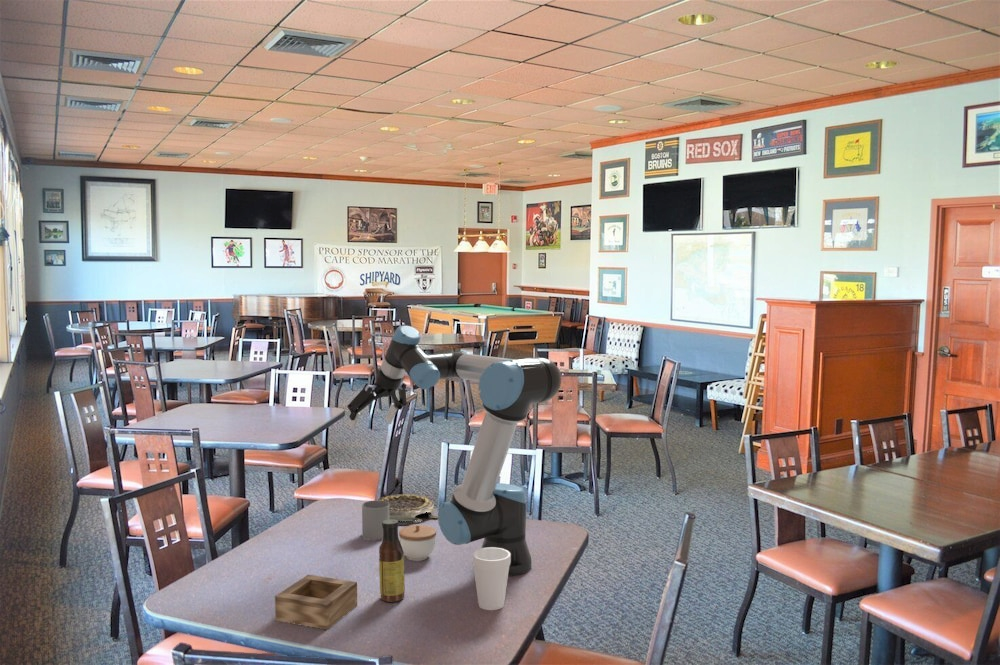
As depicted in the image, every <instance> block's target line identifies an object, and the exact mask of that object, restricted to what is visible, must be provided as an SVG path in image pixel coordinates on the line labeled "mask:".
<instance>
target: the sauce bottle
mask: <svg viewBox="0 0 1000 665" xmlns="http://www.w3.org/2000/svg"><path fill="white" fill-rule="evenodd" d="M399 526H400V525H399V522H398V521H397V520H395V519H389V520H384V521H383V522H382V527H383V539H382V542H381V544H380V545H379V547H378V548H379V549H378V552H379V553H378V554H379V557H378V558H379V559H378V570H379V571H378V572H379V593H380V599H381V600H382V601H383V602H386V603H396V602H399V601H401V600H403V599H404V598H405V593H406V588H405V587H406V586H405V585H406V584H405V556H404V552H403V549H402V546H401V543H400V540H399Z"/></svg>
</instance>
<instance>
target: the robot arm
mask: <svg viewBox="0 0 1000 665" xmlns="http://www.w3.org/2000/svg"><path fill="white" fill-rule="evenodd" d="M395 329H396V330H395V331H394V333H393V335H392V336H391V340H390V343H389V345H388V348H387V350H386V353H385V355H384V357H383V360H382V362H381V365H380V367H379V369H378V372H377V374H376V378H375V383H373V385H372V384H369V382H367V383H365V384H364V387H362V390H361V391H360V392H359V393H358V394H357V395H356V396H355V397H354V398H353V399H352V400H351V401H350V402H349V403H348V405H346V407H347V408H348V410H349V411H350V414H349V420H348V422H347V424H348V426H349V428H350V429H351V430H352V431H353V430H355V428H356V425H357V422H358V420H359V418H360V416H361V411H363V410H364V409H365V408H366V407H368V406H369V405H370V404H371V403H372V402H374V401H377V400H378V399H381V398H388V397H389V396H390V398H391V399H392V401H393V402H392V403H390V406H389V409H388V410H387V412H386V415H385V418H384V420H385V421H386V422H387V423H388V425H391V424H392V422H393V421H394V418H395V416H396V415H397V414H398V411H399V410H403V407H405V406H406V405H407V394H406V393H407V392H406V388H407V384H406V382H405V381H404V380H403V379H404V377H405V375H406V374H407V375H408V377H409V378H410V380H411V381H412V382H413V383H414V384H415V385H416V387H418V388H419V389H421V390H427V389H430V388H431V387H435V385H436V384H438V382H439V380H444V379H460V380H461V379H462V380H466V381H467V380H468V381H473V382H478V390H479V391H480V392H479V393H478V394H479V397H480V400H481V402H482V403H481V404H482V405H481V406H482V408H483V409H484V411H485V413H484V415H483V419H482V422H481V425H480V428H479V431H478V434H477V437H476V441H475V444H474V446H473V450H472V453H471V456H470V459H469V462H468V465H467V469H466V472H465V475H464V477H463V481H462V483H461V484H458V485H457V486H456V487H455V488H454V490H453V493H452V496H451V499H450V500H449V501H447V500H446V501H444V502H443V503H441V504H440V506H439V507H438V509H437V516H438V518H437V521H438V526H439V528H440V531H441V533H442V535H443V536H444V538H445V540H447V541H448V542H449V543H451V544H453V545H455V546H459V545H460V546H461V545H465V544H466V545H467V544H470V543H473V542H476V541H479V540H482V539H483V541H482V545H481V548H486V547H496V548H502V549H505V550H508V551H509V552H510V553H511V563H510V566H509V572H508V577H512V576H518V575H520V576H521V575H523V574H525V573H527V572H529V571H530V570H531V569H532V556H531V553H530V550H529V547H528V543H527V538H526V530H527V528H526V527H527V524H526V522H527V503H528V502H527V500H526V498H527V497H526V496H527V495H526V490H525V489H524V488H522V487H521V486H518V485H514V484H510V483H502V482H498V481H499V478H500V475H501V472H502V470H503V467H504V463H505V460H506V458H507V455H508V452H509V449H510V448H511V447H510V446H511V443H512V440H513V438H514V436H515V435H514V434H515V433H516V432H515V431H516V429H517V426H518V423H520V422H523V421H525V420H526V418H527V415H528V413H529V410H530V407H531V405H535V404H541V403H546V402H548V401H550V400H552V399H553V398H555V396H556V395H557V394H558V392H559V390H560V388H561V384H562V373H561V371H560V368H559V367H558V365H557V364H555V362H554V361H552V360H551V359H548V358H546V357H525V358H521V359H513V358H507V357H505V358H504V357H499V356H498V357H496V356H488V355H481V354H474V353H471V352H469V351H463V350H459V351H451V352H441V353H428V354H427V353H425V351H424V350H423V349H422V348H421V347H420V345H419V344H420V340H421V333H420V332H419V330H418V329H416V328H415V327H413V326H410V325H400V326H398V327H397V328H395ZM397 390H398V397H397V395H396V393H395V391H397ZM398 398H399V399H398ZM481 548H480V549H481Z"/></svg>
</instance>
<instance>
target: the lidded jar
mask: <svg viewBox="0 0 1000 665" xmlns="http://www.w3.org/2000/svg"><path fill="white" fill-rule="evenodd" d="M436 537H437V530H436V528H434V527H432V526H429V525H425V524H415V525H406V526H405V527H402V528H400V530H398V538H399V541H400V543H401V546H402V549H403V552H404V555H405V556H404V557H406V559H407V560H409V561H413V562H415V561H416V562H418V561H419V562H420V560H421V561H425V560H427V559H428V558H429V556H430V555H431V554H432V553H433V552H434V549H435V547H436V539H437V538H436Z"/></svg>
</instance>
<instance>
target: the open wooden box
mask: <svg viewBox="0 0 1000 665" xmlns="http://www.w3.org/2000/svg"><path fill="white" fill-rule="evenodd" d="M355 606H356V607H357V606H358V582H357V581H352V580H344V579H340V578H333V577H332V578H331V577H327V576H320V575H313V574H307V575H306V576H304V577H302V578H301V579H299V580H298V581H296V582H294V583H293V584H292V585H290V586H288V587H287V588H285V589H283V590H282V591H281V592H279V593H278V594H276V595H275V596H274V612H275V613H274V615H275V618H274V619H275V620H276V621H275V622H279V621H283V622H282V623H285V622H289V623H288V624H290V623H295V624H294V625H296V624H301V625H306V626H305V627H307V626H310V627H309V628H312V627H316V628H315V629H318V628H320V630H323V629H326V630H325V631H328V630H330V629H331V627H333V626H334V625H335V624H336V623H338V622H339V621H340V620H341V619H343V618H344V617H345V616H347V615H348V614H349V613H350V612H351V611H352V609H353V608H354V607H355ZM356 607H355V608H356ZM355 608H354V609H355ZM354 609H353V610H354ZM349 611H350V612H349ZM348 612H349V613H348ZM347 613H348V614H347ZM343 616H344V617H343ZM342 617H343V618H342ZM338 620H339V621H338ZM337 621H338V622H337ZM301 625H300V626H301ZM332 625H333V626H332ZM327 629H328V630H327Z"/></svg>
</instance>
